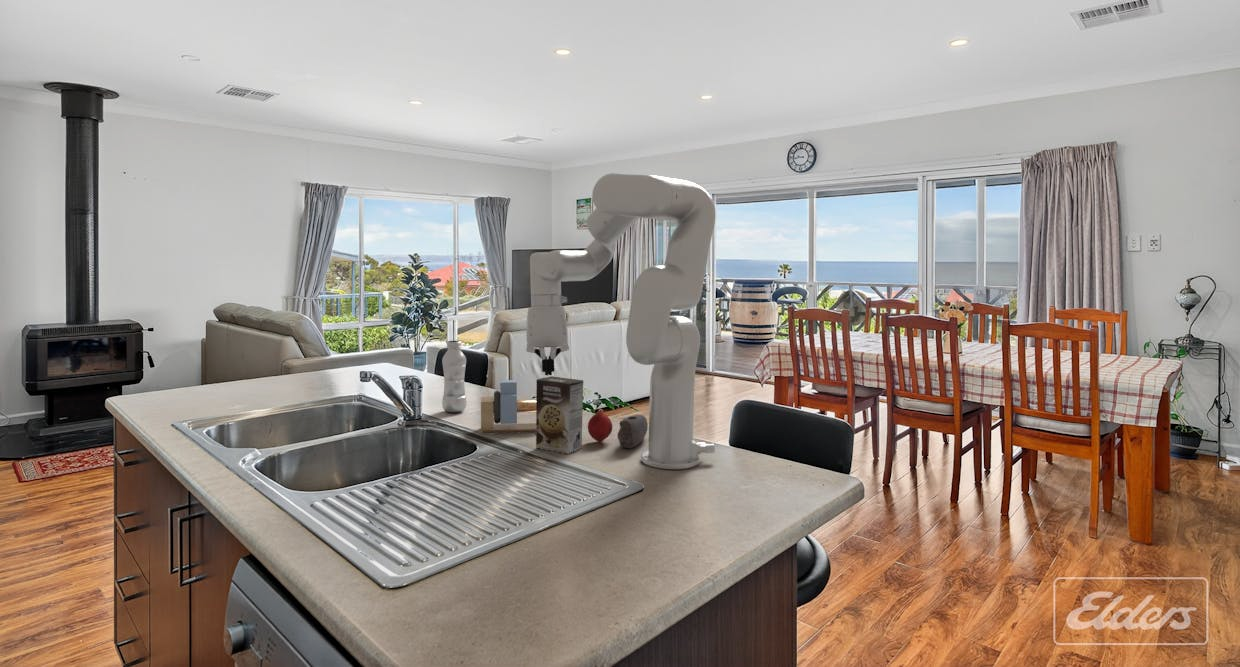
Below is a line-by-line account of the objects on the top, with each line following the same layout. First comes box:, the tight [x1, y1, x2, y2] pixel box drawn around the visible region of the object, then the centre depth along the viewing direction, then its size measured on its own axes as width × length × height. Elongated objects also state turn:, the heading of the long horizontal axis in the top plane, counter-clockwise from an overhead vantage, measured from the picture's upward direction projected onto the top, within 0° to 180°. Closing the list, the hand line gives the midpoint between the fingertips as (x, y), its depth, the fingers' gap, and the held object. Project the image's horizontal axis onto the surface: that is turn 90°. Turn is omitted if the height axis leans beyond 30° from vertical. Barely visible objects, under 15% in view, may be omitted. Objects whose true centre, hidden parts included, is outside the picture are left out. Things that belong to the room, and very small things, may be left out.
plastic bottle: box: [441, 340, 467, 414], centre depth 189 cm, size 6×7×20 cm
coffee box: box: [535, 375, 584, 455], centre depth 154 cm, size 9×6×16 cm
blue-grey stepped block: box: [499, 379, 518, 424], centre depth 170 cm, size 4×7×10 cm, turn 10°
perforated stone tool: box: [617, 414, 649, 449], centre depth 160 cm, size 15×5×7 cm, turn 159°
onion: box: [587, 408, 613, 443], centre depth 161 cm, size 6×6×8 cm
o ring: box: [493, 390, 501, 424], centre depth 170 cm, size 2×8×8 cm, turn 10°
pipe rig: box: [480, 396, 536, 434], centre depth 171 cm, size 17×6×8 cm, turn 100°
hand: (548, 374), depth 170 cm, fingers closed
